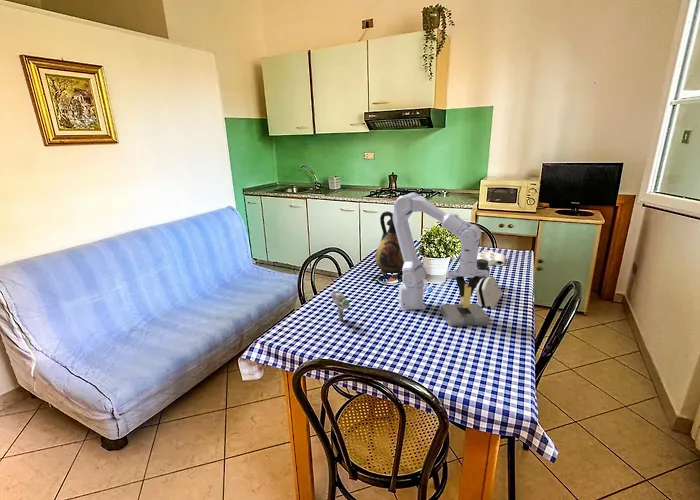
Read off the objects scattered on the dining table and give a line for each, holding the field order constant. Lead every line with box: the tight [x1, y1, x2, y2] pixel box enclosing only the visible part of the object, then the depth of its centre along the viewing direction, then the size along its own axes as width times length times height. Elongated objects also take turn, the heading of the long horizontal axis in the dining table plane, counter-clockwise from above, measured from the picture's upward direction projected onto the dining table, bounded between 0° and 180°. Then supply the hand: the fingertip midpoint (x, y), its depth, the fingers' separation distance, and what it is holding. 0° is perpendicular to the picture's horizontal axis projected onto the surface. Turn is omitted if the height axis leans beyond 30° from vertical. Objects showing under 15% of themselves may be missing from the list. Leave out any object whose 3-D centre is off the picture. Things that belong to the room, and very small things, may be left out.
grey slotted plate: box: [440, 303, 490, 327], centre depth 134 cm, size 14×11×3 cm
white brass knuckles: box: [477, 249, 506, 267], centre depth 193 cm, size 3×18×15 cm
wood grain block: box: [459, 283, 472, 308], centre depth 132 cm, size 2×3×8 cm
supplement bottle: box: [475, 259, 491, 289], centre depth 160 cm, size 7×7×12 cm
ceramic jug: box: [374, 210, 404, 275], centre depth 176 cm, size 17×15×30 cm
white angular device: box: [475, 276, 504, 310], centre depth 148 cm, size 17×5×10 cm, turn 145°
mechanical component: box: [331, 290, 350, 322], centre depth 133 cm, size 3×10×10 cm, turn 27°
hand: (465, 295), depth 132 cm, fingers closed on wood grain block, 2 cm apart
